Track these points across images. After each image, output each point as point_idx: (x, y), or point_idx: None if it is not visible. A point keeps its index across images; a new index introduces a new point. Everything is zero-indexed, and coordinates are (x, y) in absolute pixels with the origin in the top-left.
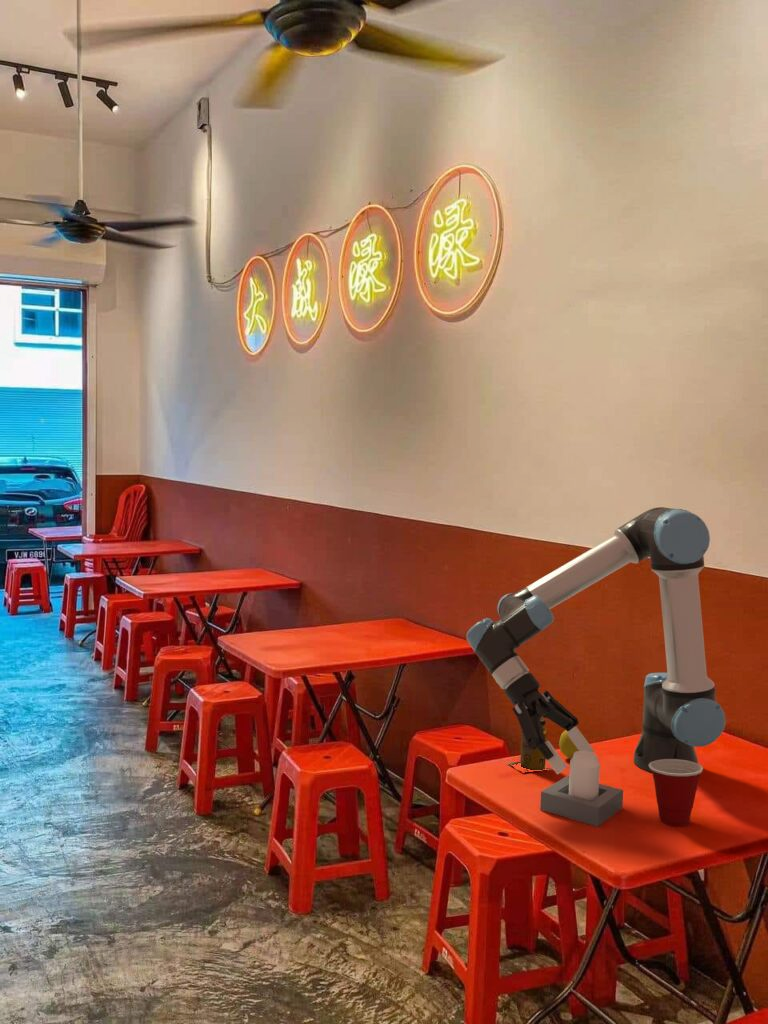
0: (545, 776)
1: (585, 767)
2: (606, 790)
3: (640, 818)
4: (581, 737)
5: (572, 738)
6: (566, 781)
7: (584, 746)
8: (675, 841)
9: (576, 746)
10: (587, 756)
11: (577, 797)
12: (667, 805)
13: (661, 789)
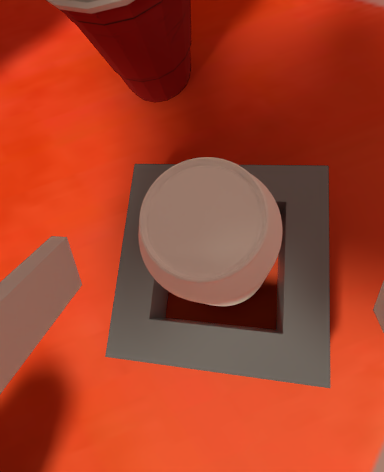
0: (30, 462)
1: (274, 201)
2: None
3: (189, 132)
4: (8, 301)
5: (9, 365)
6: (166, 338)
7: (47, 282)
8: (270, 36)
9: (45, 331)
10: (209, 203)
11: (290, 250)
12: (190, 34)
13: (182, 10)
